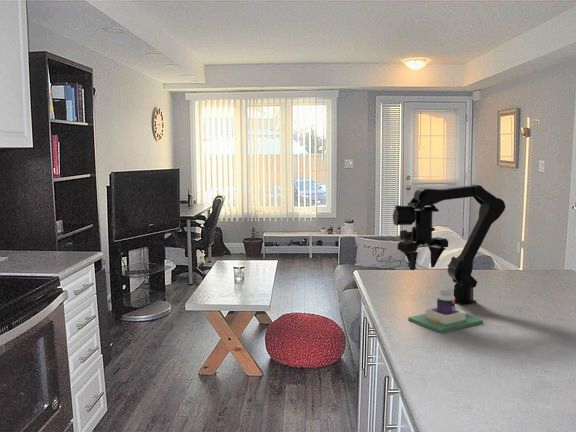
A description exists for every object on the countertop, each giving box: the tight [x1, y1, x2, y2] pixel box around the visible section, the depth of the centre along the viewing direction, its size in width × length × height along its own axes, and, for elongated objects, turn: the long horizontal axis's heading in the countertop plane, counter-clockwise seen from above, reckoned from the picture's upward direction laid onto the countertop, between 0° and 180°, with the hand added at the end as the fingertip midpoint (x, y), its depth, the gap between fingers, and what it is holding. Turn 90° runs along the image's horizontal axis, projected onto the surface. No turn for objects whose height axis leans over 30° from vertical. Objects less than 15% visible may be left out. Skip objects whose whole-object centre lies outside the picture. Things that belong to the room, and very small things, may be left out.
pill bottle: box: [436, 286, 456, 315], centre depth 171 cm, size 5×5×10 cm
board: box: [407, 306, 484, 334], centre depth 171 cm, size 18×14×4 cm
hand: (422, 268), depth 190 cm, fingers open, 9 cm apart
